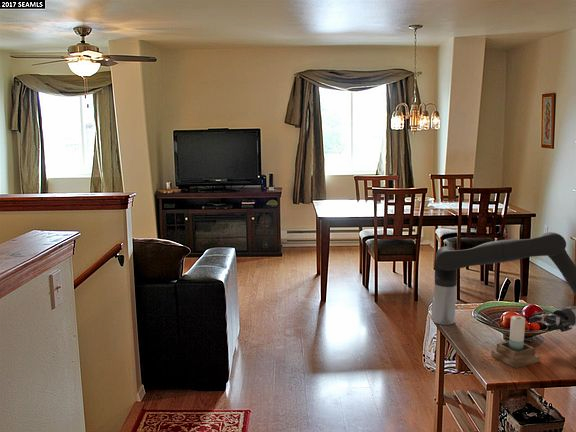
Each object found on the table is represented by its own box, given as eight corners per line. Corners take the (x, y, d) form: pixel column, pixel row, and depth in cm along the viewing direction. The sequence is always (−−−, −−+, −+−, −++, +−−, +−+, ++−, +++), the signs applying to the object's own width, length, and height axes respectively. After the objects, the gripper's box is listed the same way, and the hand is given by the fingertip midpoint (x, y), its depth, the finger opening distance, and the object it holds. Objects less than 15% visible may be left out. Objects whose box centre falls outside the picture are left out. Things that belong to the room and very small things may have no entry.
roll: (505, 352, 220) (507, 316, 217) (515, 349, 222) (517, 314, 219) (515, 357, 215) (518, 321, 212) (525, 354, 217) (528, 318, 215)
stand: (491, 355, 222) (492, 343, 221) (514, 349, 227) (515, 337, 226) (515, 368, 211) (516, 355, 210) (539, 361, 216) (540, 349, 215)
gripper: (553, 302, 234) (524, 309, 227) (585, 314, 221) (555, 321, 214) (552, 320, 235) (522, 327, 228) (583, 332, 223) (553, 340, 216)
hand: (538, 324), depth 221 cm, fingers open, 8 cm apart
